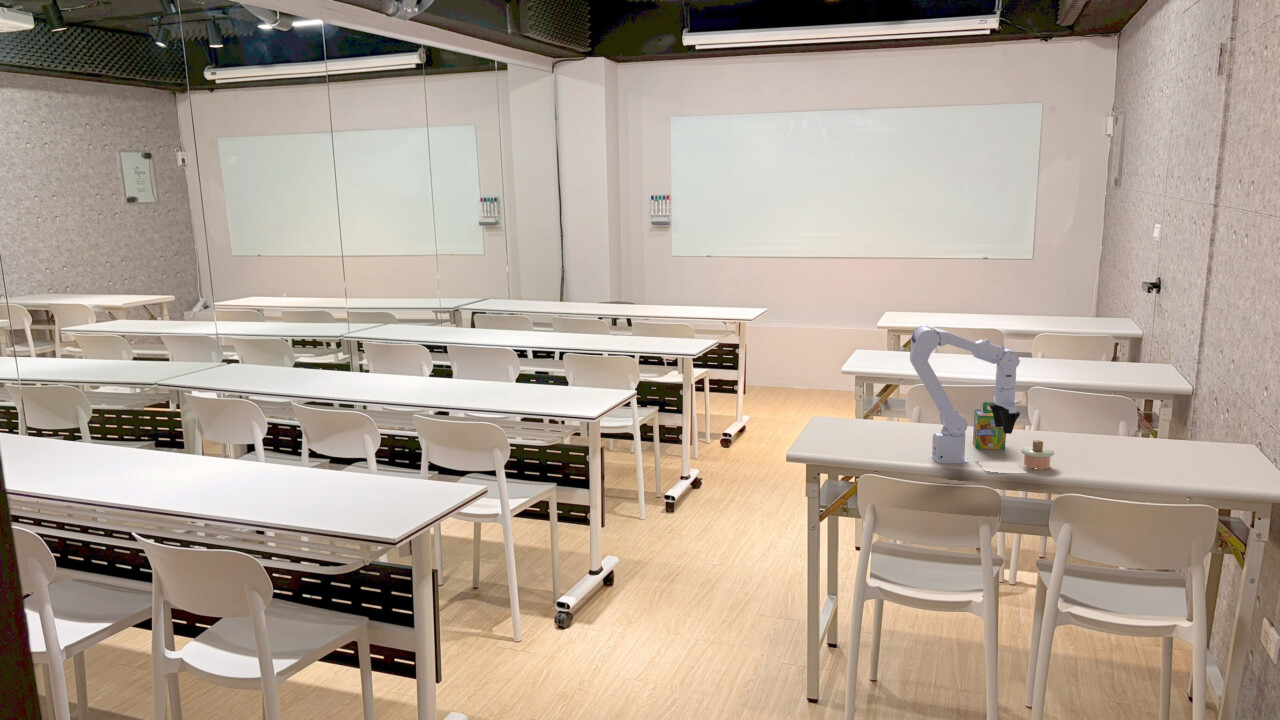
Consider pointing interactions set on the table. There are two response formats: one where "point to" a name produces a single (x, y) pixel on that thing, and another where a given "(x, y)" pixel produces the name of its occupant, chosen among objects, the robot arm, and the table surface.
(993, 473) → the mat
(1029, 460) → the bowl
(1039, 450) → the lid
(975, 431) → the chalk box
